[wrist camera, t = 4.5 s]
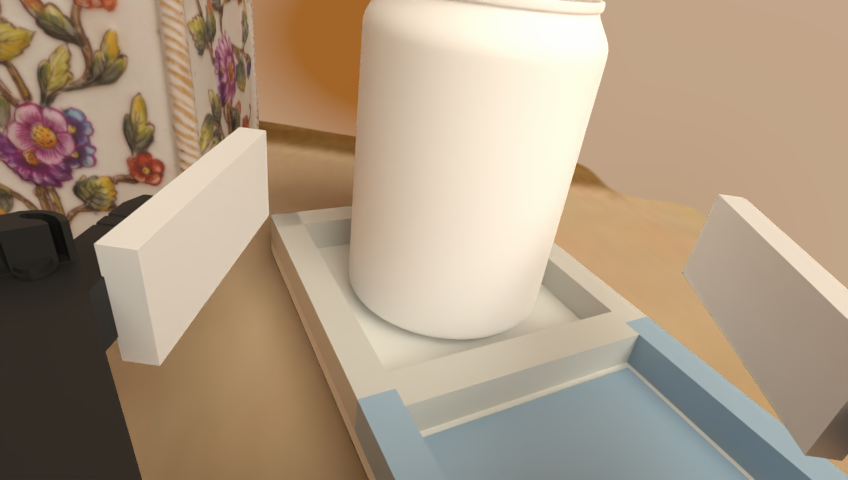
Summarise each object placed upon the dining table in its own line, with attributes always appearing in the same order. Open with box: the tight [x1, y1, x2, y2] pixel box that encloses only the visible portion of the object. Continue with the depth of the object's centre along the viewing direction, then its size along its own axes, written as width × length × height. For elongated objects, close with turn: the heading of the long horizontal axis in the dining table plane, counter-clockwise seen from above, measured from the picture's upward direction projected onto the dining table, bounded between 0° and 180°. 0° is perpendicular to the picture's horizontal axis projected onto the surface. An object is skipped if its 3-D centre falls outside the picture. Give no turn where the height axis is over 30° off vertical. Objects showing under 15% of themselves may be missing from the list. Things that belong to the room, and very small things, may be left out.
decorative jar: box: [0, 0, 259, 239], centre depth 22 cm, size 12×12×18 cm
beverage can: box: [349, 0, 608, 340], centre depth 19 cm, size 8×8×12 cm
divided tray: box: [271, 206, 848, 480], centre depth 18 cm, size 23×12×2 cm, turn 26°
